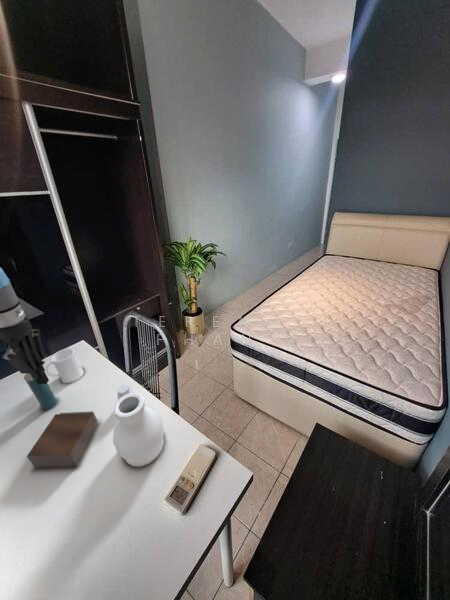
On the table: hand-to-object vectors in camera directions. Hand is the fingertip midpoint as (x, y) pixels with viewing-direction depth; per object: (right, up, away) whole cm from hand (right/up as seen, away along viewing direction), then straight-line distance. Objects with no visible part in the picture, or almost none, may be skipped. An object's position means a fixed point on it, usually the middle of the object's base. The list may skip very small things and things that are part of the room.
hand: (43, 382), depth 80 cm
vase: (+33, -20, -2) cm, 39 cm away
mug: (-9, -7, +26) cm, 29 cm away
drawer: (+9, -18, +1) cm, 20 cm away
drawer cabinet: (+9, -20, 0) cm, 22 cm away
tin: (-8, -13, +14) cm, 21 cm away
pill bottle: (+23, -13, +12) cm, 29 cm away
